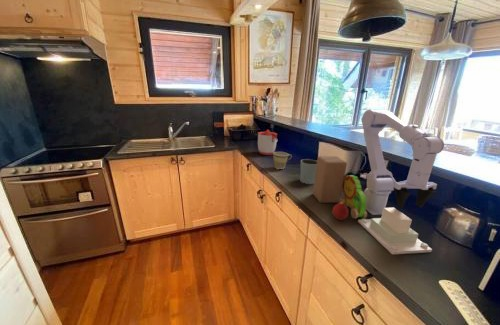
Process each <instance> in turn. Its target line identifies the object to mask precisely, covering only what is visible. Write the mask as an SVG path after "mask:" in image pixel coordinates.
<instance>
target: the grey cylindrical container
mask: <svg viewBox="0 0 500 325" xmlns="http://www.w3.org/2000/svg"><path fill="white" fill-rule="evenodd" d="M316 167H317V159H316V160H315V159H311V158H310V159H309V158H305V159H301V160H300V172H299V173H300V177H299V180H300V181H299V182H301V183H302V184H304V183H305V184H306V185H314V181H315V174H316Z"/></svg>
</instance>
